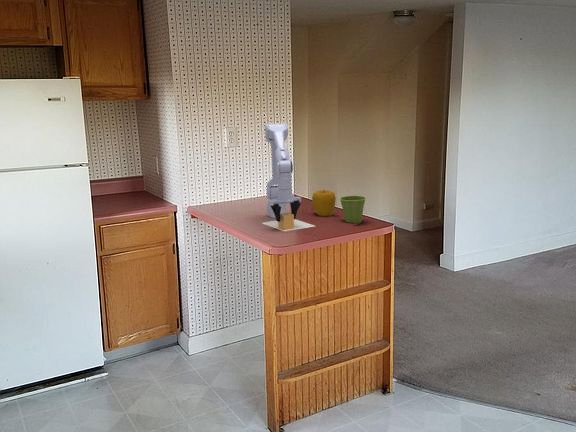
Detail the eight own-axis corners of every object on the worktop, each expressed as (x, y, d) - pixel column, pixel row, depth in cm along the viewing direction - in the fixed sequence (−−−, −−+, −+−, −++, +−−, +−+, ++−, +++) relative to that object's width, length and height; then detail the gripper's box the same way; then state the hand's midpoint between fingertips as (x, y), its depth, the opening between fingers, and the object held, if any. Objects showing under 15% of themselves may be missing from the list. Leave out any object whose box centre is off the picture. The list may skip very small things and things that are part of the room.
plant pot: (349, 218, 264) (348, 194, 262) (371, 221, 257) (371, 197, 255) (334, 223, 256) (334, 198, 253) (356, 227, 248) (356, 201, 246)
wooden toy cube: (284, 229, 242) (283, 215, 241) (278, 227, 246) (277, 213, 245) (294, 228, 245) (293, 214, 244) (288, 225, 249) (287, 212, 248)
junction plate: (261, 225, 256) (260, 215, 255) (291, 220, 264) (291, 210, 263) (284, 233, 240) (283, 223, 239) (316, 228, 248) (315, 218, 247)
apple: (307, 217, 270) (307, 190, 267) (323, 213, 277) (322, 186, 275) (325, 220, 262) (325, 192, 260) (340, 216, 270) (340, 189, 267)
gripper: (274, 191, 235) (275, 224, 238) (304, 187, 242) (305, 219, 245) (266, 189, 241) (267, 221, 244) (295, 185, 248) (296, 216, 251)
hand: (285, 220), depth 245 cm, fingers open, 7 cm apart
